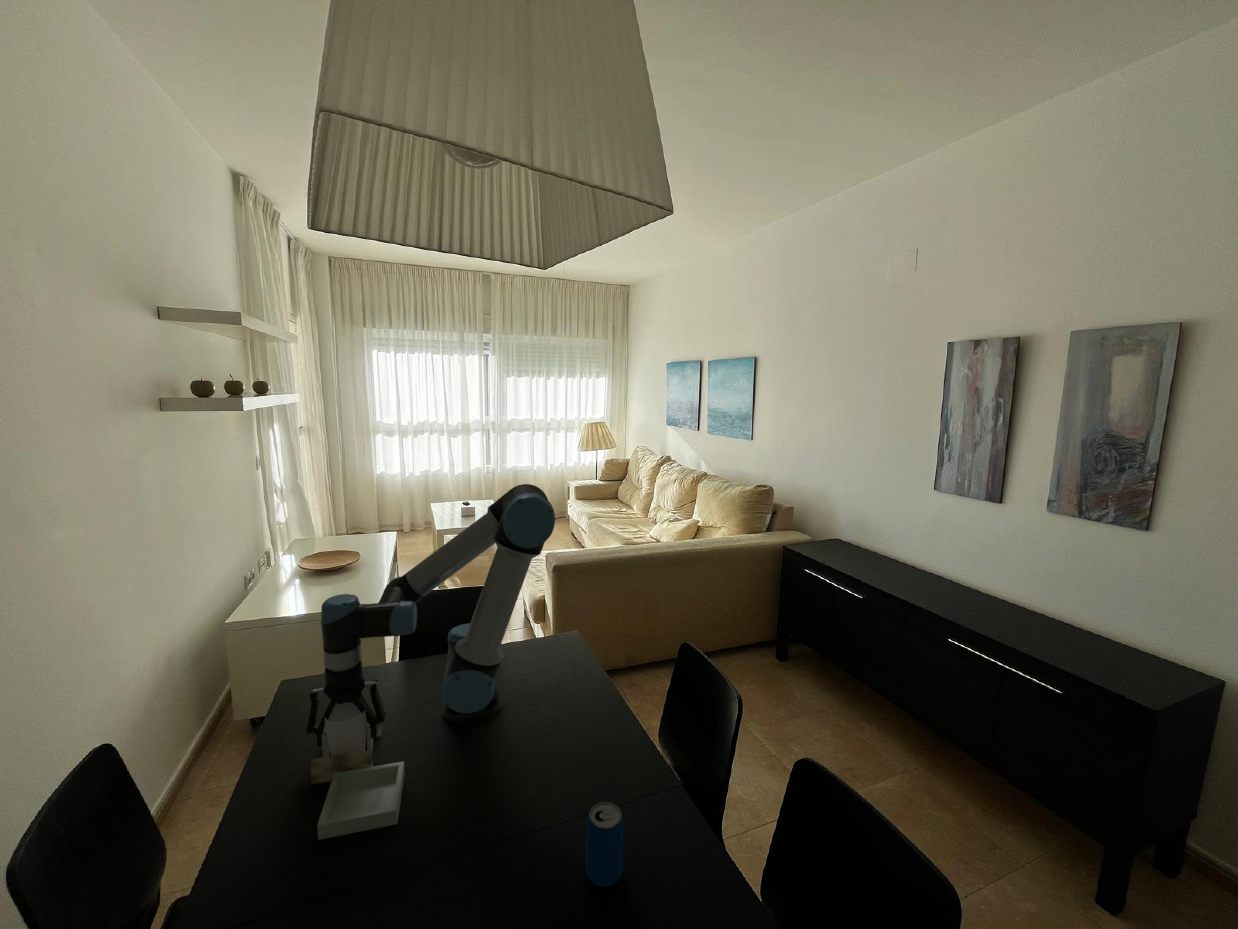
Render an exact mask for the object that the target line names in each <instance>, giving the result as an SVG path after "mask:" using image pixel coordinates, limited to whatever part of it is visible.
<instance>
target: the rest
mask: <svg viewBox="0 0 1238 929" xmlns="http://www.w3.org/2000/svg"><path fill="white" fill-rule="evenodd" d="M379 737H382V723H378V724H377V735H376V738H379ZM366 740H367V736H366ZM310 760H311V761H310V763H309V768H310V780H311V782H310V783H311V785H316V784H321V783H326V782H332V779H333V776H334V773H338V772H344V771H350V770H356V769H361V768H367V767H373V766H374V764H373V762H374V761H373V749H372V750H368V749H367V750H366V749H365V751H359V752H353V753H347V754H341V755H335V756H331V755H329V756H328V757H323V756H322V757H316V758H311V759H310Z"/></svg>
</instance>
